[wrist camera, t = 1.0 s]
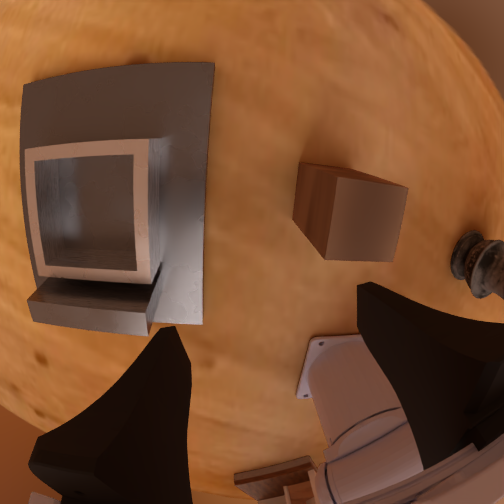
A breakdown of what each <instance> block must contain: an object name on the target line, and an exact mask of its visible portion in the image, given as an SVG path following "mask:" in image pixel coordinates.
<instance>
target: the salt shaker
mask: <svg viewBox="0 0 504 504" xmlns="http://www.w3.org/2000/svg"><path fill="white" fill-rule="evenodd" d="M451 271H452V274H453V276H454V277H455V278H457V279H459V280H464V279H465V280H466V282H467V284H468V286H469V288H470V289H471V292H472V294H473V296H475V297H476V298H480V299H481V298H484V297H487V296H488V295H490V294H491V293H492V292H493V293H496V294H497V295H499V296H500V297H501V298H502V299H504V242H503V241H501V240H484V238H483V236H482V234H481V233H480V232H478V231H475V230H473V231H469V232H467V233H466V234H465V235H463V236H462V237H461V239H460V240H459V241H458V243H457V245H456V247H455V248H454V251H453V254H452V258H451Z"/></svg>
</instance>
